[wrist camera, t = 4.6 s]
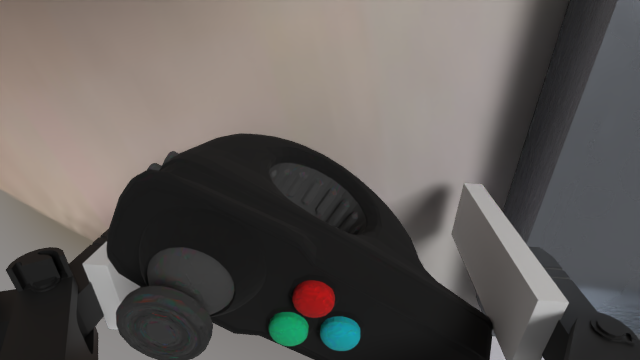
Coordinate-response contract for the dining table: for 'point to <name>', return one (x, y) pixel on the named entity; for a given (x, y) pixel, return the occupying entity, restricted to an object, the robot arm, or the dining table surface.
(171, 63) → the dining table surface
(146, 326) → the controller
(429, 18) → the dining table surface
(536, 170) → the tray
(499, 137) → the dining table surface
